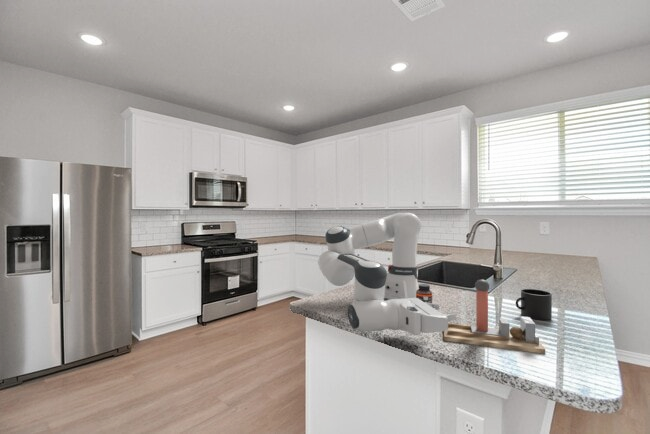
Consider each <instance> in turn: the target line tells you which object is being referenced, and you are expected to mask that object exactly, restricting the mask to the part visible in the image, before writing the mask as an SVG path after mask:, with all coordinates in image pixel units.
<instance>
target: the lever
mask: <svg viewBox="0 0 650 434" xmlns="http://www.w3.org/2000/svg"><path fill="white" fill-rule="evenodd" d="M474 288H475V290H476V292H475V293H476V294H475V295H476V297H475V298H476V299H475V301H476V303H475V304H476V306H475V307H476V309H475V310H476V313H475V314H476V316H475V317H476V319H475V320H476V325H470V326H471V332H472V333H477V334H485V335H494V336H502V337H506V339H508V340H510V336H509V330H510V322H509V320H508V319H507V318H500V317H499V318H498V319H499V320H498V325H499V326H498V328H496V329H492V328H493V327H489V289H490V284H489V282H488V281H487V280H485V279H478V280H476V282H475V283H474ZM474 326H476V327H474Z"/></svg>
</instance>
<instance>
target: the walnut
mask: <svg viewBox="0 0 650 434" xmlns="http://www.w3.org/2000/svg"><path fill="white" fill-rule="evenodd" d="M509 330H510V334H511V336H512V337H514V338H517V339H518V338H521V337H522V336H523V331H522V329H521V327H519V326H517V325H516V326H515V325H514V326H512V327H510V328H509Z"/></svg>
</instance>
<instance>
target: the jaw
mask: <svg viewBox="0 0 650 434" xmlns="http://www.w3.org/2000/svg"><path fill="white" fill-rule="evenodd" d="M520 328H521V329H522V331H523V336H522V338H523V340H524V341H525V343H530V344H538V345H539V342H540V337H539V335H538V334H537V333H536V323H535V322H534V321H533V319H531V318H530V317H525V316H523V315H521V316H520Z"/></svg>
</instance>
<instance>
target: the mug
mask: <svg viewBox="0 0 650 434" xmlns="http://www.w3.org/2000/svg"><path fill="white" fill-rule="evenodd" d="M552 297H553V296H552V293H551V292H550V291H546V290H541V289H534V288H525V289H521V290H520V297H518V298H517V299H515V300H516V301H515V306H516V308H517V309H518V310H520V314H521V316H522V317H530V318H531V319H532V320H535V321H550V320H552V318H553V317H552V314H553V313H552V311H553V309H552V304H553V301H552V300H553V298H552ZM519 302H520V306H519Z"/></svg>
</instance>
